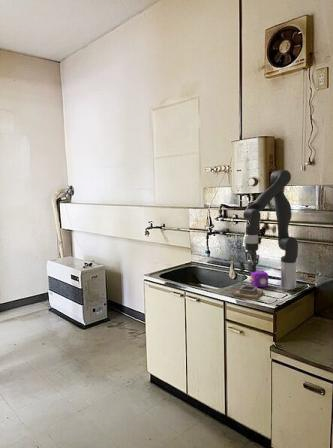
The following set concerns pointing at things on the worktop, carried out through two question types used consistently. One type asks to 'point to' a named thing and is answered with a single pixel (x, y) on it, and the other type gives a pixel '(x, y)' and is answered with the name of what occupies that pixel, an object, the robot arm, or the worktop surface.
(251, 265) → the lens
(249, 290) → the lens mount
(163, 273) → the worktop surface
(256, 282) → the toy camera
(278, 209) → the robot arm
